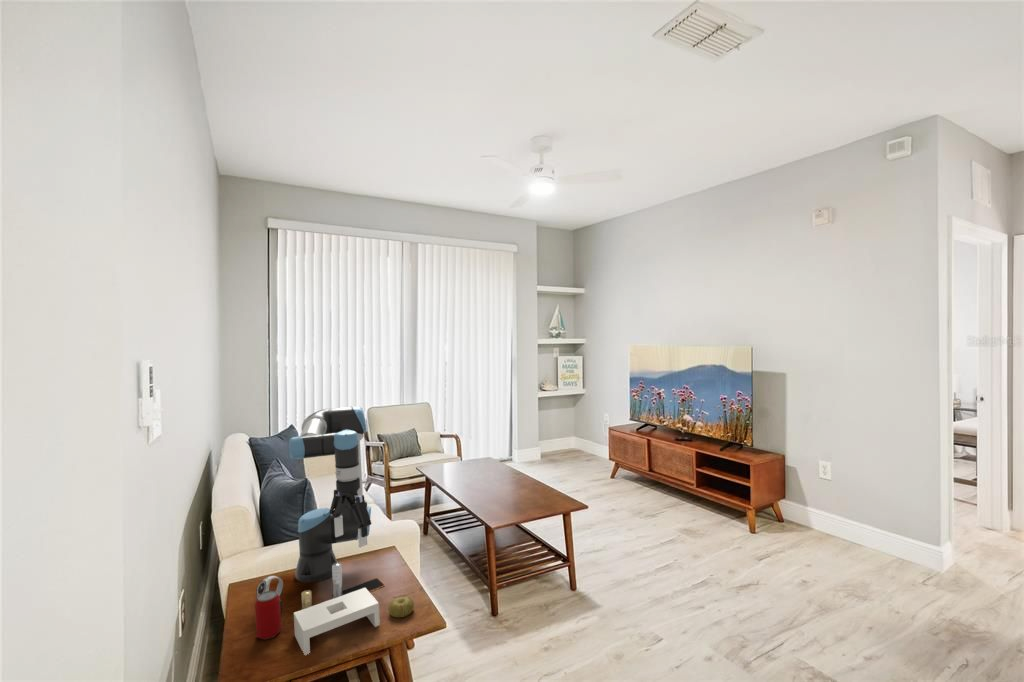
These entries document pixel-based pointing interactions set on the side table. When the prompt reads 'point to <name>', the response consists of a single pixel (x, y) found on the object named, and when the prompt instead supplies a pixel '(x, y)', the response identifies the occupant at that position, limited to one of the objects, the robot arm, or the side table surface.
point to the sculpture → (401, 607)
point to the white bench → (334, 615)
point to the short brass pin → (306, 599)
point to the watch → (265, 585)
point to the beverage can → (268, 615)
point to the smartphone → (365, 586)
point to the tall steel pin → (337, 580)
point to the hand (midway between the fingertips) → (350, 540)
